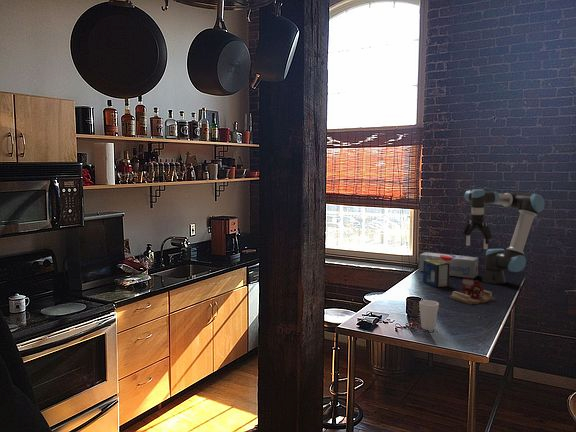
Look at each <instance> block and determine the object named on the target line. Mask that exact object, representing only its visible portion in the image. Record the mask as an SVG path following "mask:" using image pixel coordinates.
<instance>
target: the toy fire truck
mask: <svg viewBox="0 0 576 432" xmlns="http://www.w3.org/2000/svg"><path fill="white" fill-rule="evenodd" d="M461 283H462V292H461V293H463V294H466V295H469V296H470V295H471V294H472V297H473V298H475V299H476V298H478V297H479V296H483V291H484V290H485V289H484V288H483V286H482V284H481V283H480V281H479V280H474V279H470V278H463V279H462V281H461ZM474 289H475V290H474ZM479 289H480V290H479ZM473 291H474V292H473Z"/></svg>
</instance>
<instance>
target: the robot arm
mask: <svg viewBox="0 0 576 432" xmlns="http://www.w3.org/2000/svg"><path fill="white" fill-rule="evenodd" d="M463 198H464V200H465V201H466V202H470V203H471V208H470V209H471V211H470V212H471V214H470V220H467V222H466V225H465V227H464V229H463V232H462V234H463V235H465V242H466V243H465V246H471V235H470V234H471V233H472V232H473V231H474V229H477V230H479V231H480V233H481V234H482V236H483V250H486V251H485V262H484V263H485V265H484V267H485V268H484V271H483V273H482V276H481V281H482V282H484V283H487V284H493V285H503V284H506V278H505V273H504V270H505V271H509V272H512V273H513V272H514V273H519V272H521V271H523V270H524V269H525V267H526V265H527V259H526V256H525V253H524V249H525V245H526V243H527V239H528V237H529V234H530V230H531V227H532V223H533V221H534V218H535V217H537V216H538V214H539V213H541V212H542V211H543V210H544V209H545V200H544V197H543V196H542V195H541V194H537V193H529V192H528V193H526V192H505V193H499V192H497V191H485V189H480V188H479V189H471V190H470V189H469V190H466V191H465V193H464V196H463ZM488 204H491V205H498V206H503V207H506V208H511V209H514V210H518V212H519V215H518V220H517V222H516V225H515V229H514V232H513V235H512V238H511V240H510V242H509V243H510V245H509V247H506V249H504V248H488V247H489V244H490V243H489V242H490V239H492V237H493V236H492V234H491V231H490V228H489V224H488V222H484V220H485V215H484V214H485V205H488Z"/></svg>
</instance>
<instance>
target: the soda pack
mask: <svg viewBox="0 0 576 432" xmlns="http://www.w3.org/2000/svg"><path fill="white" fill-rule="evenodd" d="M432 259H437V260H440V261H443V262H446V263H449V264H450V268H449V277H450V276H452V277H460V278H464V279H475V278H476V277H478V275H479V273H478V272H479V257H474V256H466V255H456V254H445V253H438V252H437V253H436V252H428V251H425V252H422V253H420V254H419V263H418V264H419V265H418V272H421V271H423V266H424V260H432Z"/></svg>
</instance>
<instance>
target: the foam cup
mask: <svg viewBox="0 0 576 432" xmlns="http://www.w3.org/2000/svg"><path fill="white" fill-rule="evenodd" d="M418 303H419V305H418V306H419V315H420V316H419V317H420V324H421V329H422V330H426V331H434V330H435V328H436V322H437V316H438V310H439V308H440V307H439V306H440V303H439V302H438V301H435V300H432V299H431V300H429V299H425V300H424V299H423V300H420V301H419V302H418Z"/></svg>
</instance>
